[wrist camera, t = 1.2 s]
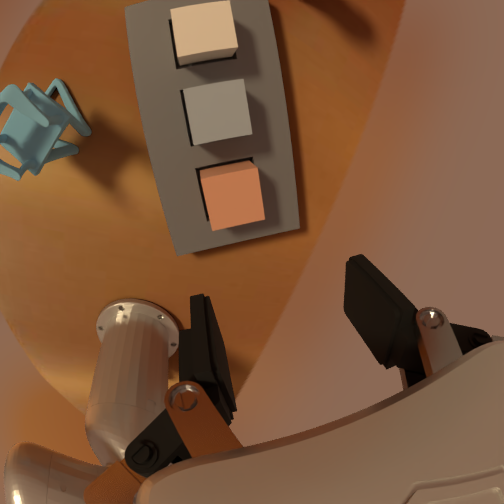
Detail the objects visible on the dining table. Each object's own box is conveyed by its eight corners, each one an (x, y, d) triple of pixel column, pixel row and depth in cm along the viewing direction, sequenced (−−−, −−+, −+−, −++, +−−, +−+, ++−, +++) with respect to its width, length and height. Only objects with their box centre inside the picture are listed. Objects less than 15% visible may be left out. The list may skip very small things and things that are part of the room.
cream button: (231, 56, 22) (238, 47, 18) (179, 65, 21) (177, 57, 18) (224, 14, 19) (229, 0, 16) (173, 23, 19) (170, 9, 15)
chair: (67, 170, 25) (12, 204, 15) (24, 133, 22) (-40, 151, 11) (105, 115, 24) (56, 118, 14) (58, 77, 20) (-2, 68, 10)
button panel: (291, 218, 34) (299, 228, 31) (177, 244, 32) (177, 256, 30) (258, -5, 20) (264, -15, 18) (130, 16, 19) (124, 7, 16)
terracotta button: (256, 206, 29) (265, 219, 26) (209, 216, 29) (212, 231, 26) (249, 160, 27) (257, 167, 24) (199, 170, 27) (200, 178, 23)
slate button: (244, 131, 26) (252, 134, 22) (193, 141, 25) (193, 145, 22) (236, 84, 23) (243, 78, 20) (184, 93, 23) (183, 89, 19)
